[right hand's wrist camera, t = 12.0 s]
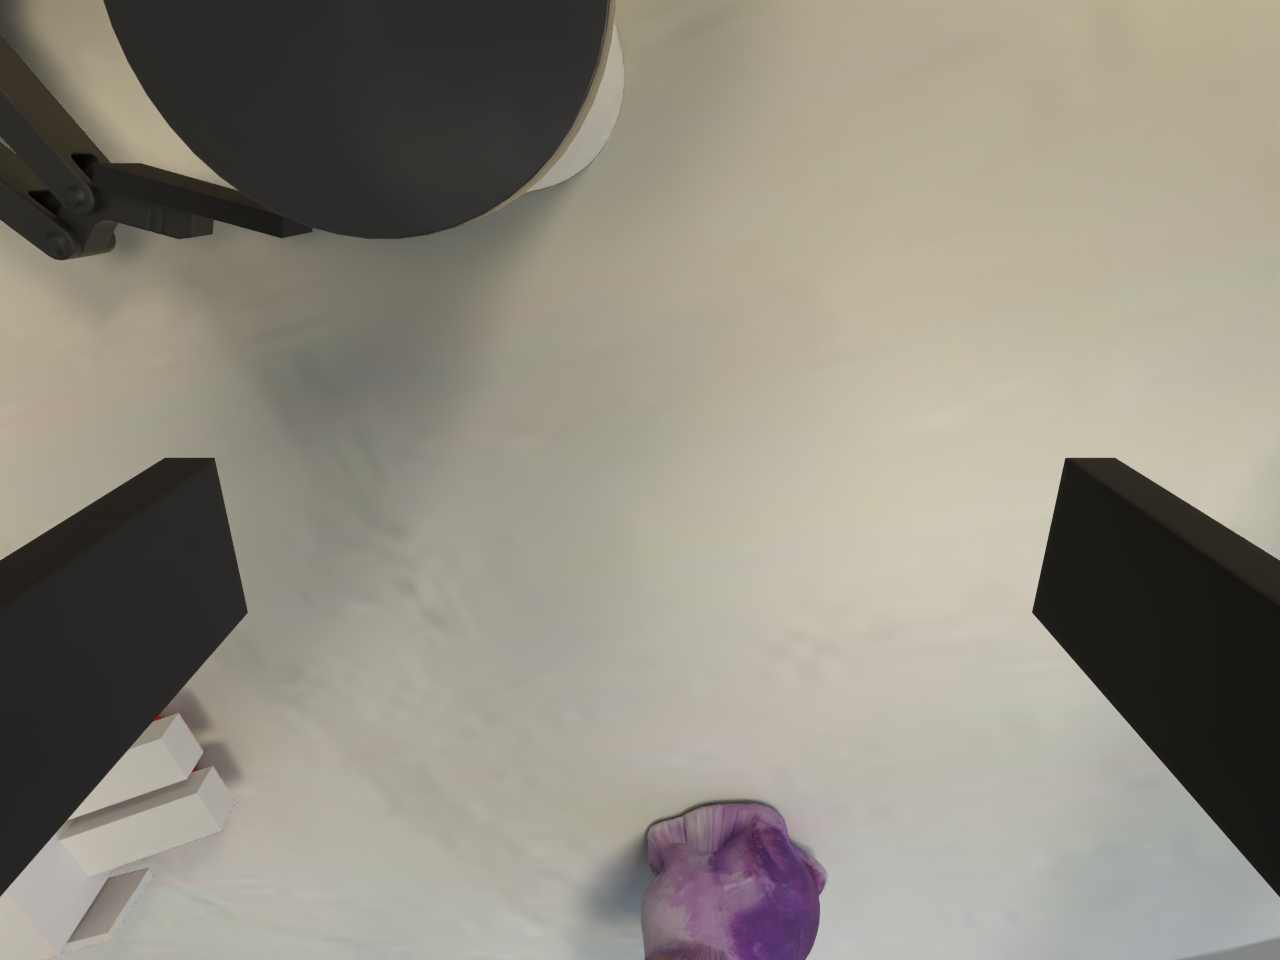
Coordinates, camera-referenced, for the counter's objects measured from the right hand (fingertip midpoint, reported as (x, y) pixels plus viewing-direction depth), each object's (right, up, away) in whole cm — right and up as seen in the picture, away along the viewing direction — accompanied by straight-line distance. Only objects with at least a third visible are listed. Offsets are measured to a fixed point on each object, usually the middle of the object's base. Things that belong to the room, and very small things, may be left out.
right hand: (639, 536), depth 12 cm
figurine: (+5, -22, +36) cm, 43 cm away
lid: (-5, +11, +3) cm, 12 cm away
